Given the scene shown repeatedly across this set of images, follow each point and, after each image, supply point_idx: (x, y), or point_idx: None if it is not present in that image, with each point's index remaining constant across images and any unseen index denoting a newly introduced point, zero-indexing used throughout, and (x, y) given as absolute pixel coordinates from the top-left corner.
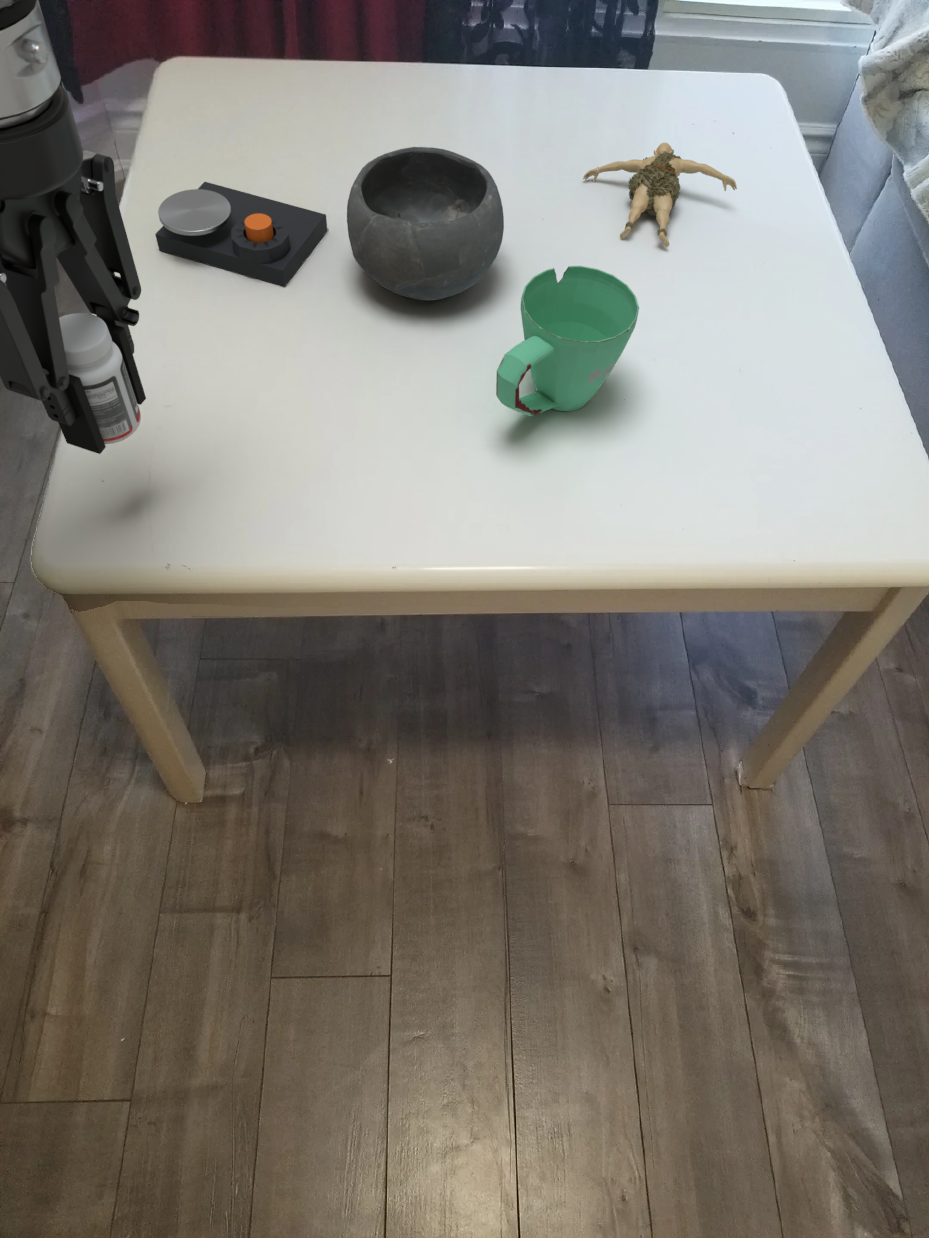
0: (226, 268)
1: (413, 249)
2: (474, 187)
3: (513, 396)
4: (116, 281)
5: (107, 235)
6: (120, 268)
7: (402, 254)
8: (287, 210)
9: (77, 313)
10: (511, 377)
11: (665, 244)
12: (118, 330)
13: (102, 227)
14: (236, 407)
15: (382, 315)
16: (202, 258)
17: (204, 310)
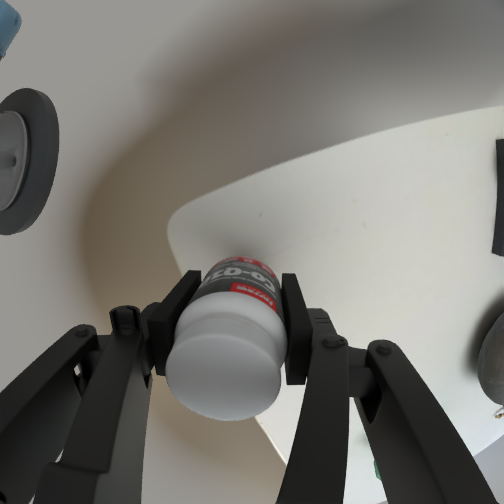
0: (498, 200)
1: (496, 382)
2: None
3: (375, 467)
4: (375, 384)
5: (393, 488)
6: (371, 435)
7: (496, 373)
8: None
9: (272, 364)
10: (379, 476)
11: (495, 416)
12: (296, 380)
13: (400, 499)
14: (378, 281)
15: (472, 330)
16: (500, 179)
17: (464, 201)
